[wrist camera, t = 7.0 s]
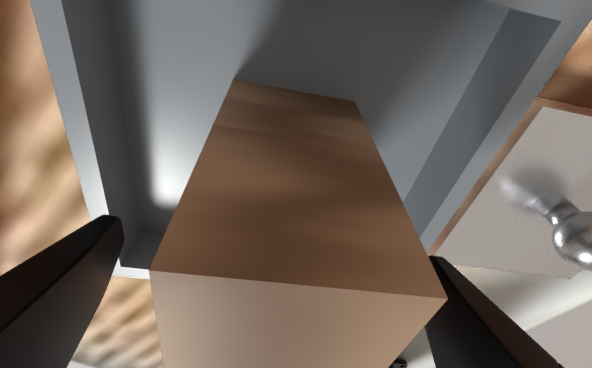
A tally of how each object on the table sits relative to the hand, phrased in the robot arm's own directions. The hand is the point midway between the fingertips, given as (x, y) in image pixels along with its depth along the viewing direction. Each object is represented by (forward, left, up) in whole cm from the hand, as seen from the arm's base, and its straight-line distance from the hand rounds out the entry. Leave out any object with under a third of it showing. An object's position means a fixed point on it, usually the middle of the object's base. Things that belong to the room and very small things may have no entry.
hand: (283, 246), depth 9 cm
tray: (0, 0, -7) cm, 7 cm away
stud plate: (-1, -15, -7) cm, 17 cm away
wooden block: (0, 0, -6) cm, 6 cm away
